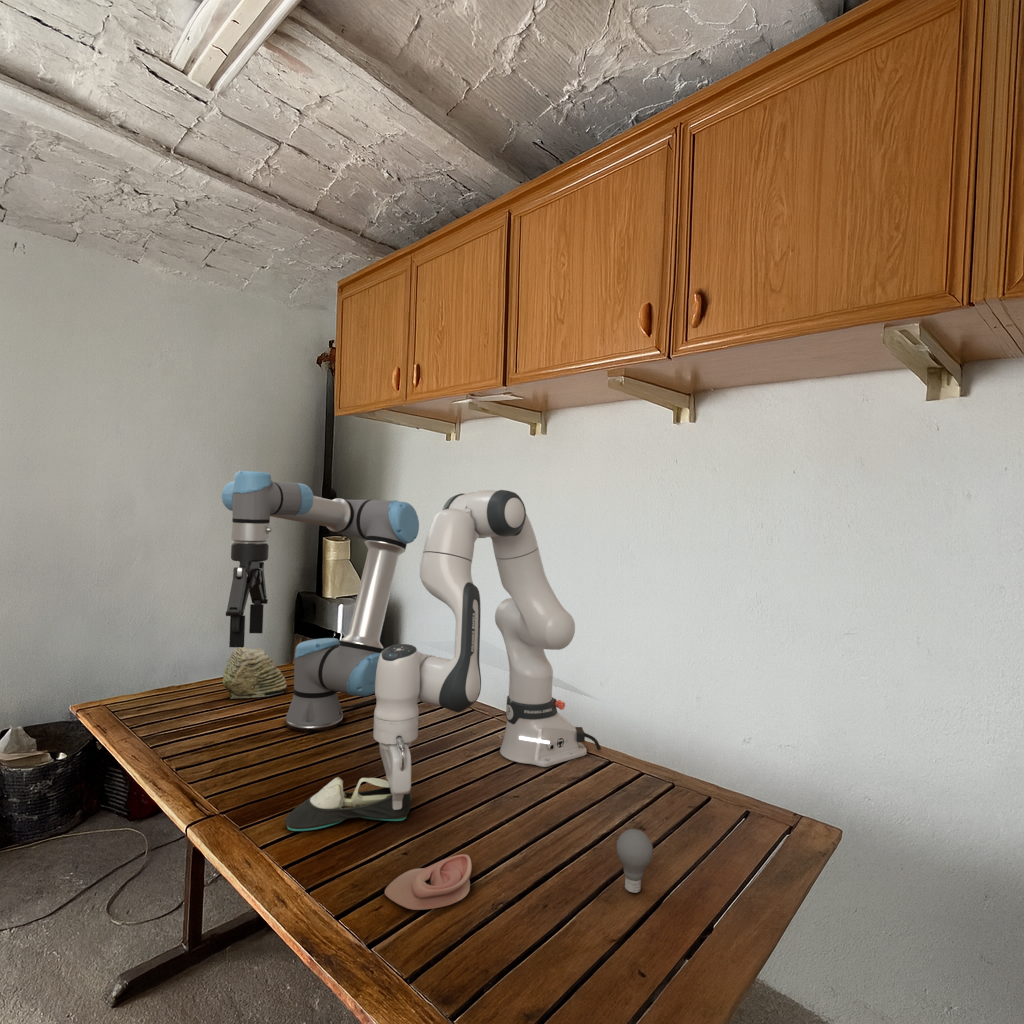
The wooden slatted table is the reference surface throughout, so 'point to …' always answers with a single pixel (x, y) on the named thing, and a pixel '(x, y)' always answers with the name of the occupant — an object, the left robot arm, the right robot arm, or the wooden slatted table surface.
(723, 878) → the wooden slatted table surface
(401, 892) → the anatomical model
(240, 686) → the fossil
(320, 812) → the ballet flat
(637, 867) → the light bulb
